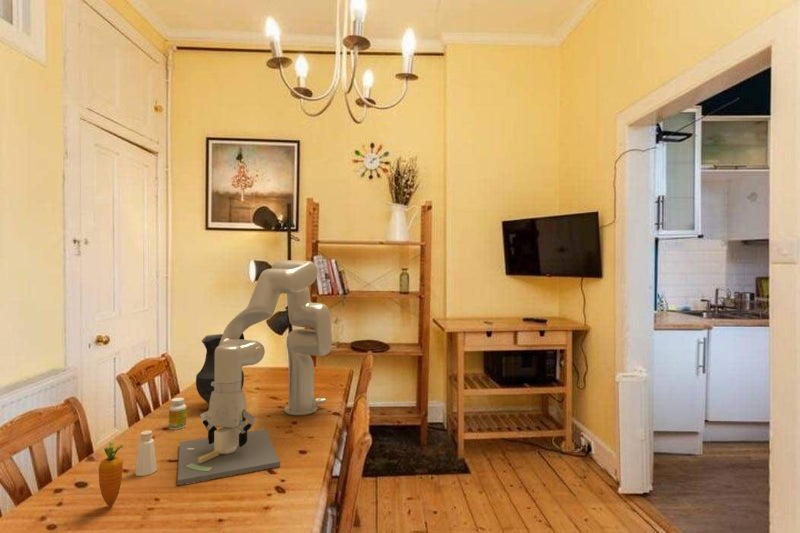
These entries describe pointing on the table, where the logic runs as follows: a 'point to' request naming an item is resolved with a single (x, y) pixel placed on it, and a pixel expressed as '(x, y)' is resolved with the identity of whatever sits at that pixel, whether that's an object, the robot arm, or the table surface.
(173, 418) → the supplement bottle
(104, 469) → the carrot
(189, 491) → the table surface
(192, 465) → the dial board
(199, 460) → the cream handled block
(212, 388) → the pitcher
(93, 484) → the table surface
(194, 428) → the table surface
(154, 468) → the pepper shaker
